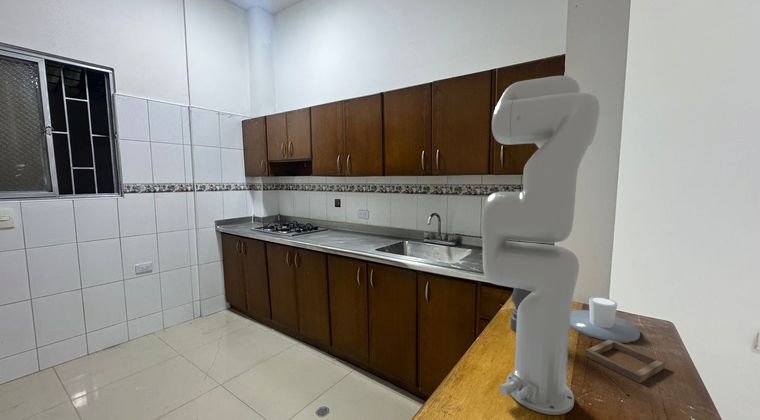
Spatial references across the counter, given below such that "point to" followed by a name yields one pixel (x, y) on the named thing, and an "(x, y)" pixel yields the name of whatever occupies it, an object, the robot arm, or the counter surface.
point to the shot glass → (602, 311)
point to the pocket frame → (637, 376)
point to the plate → (618, 332)
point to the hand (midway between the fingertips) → (553, 223)
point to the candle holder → (517, 304)
